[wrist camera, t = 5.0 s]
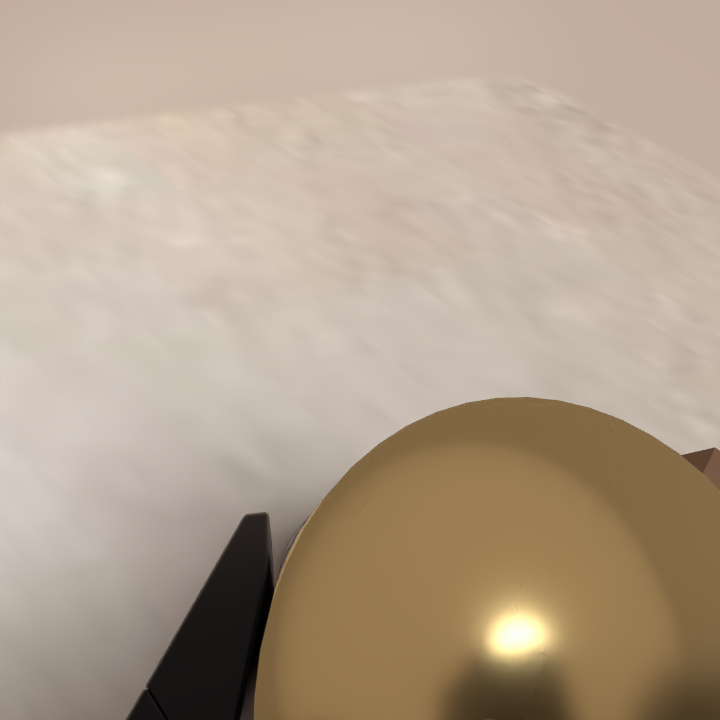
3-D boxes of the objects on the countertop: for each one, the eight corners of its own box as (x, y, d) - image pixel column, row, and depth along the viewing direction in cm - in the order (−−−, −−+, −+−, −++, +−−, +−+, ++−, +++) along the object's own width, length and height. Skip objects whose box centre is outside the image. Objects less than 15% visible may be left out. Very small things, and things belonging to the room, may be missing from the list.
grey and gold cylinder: (357, 682, 15) (708, 1361, 2) (251, 589, 15) (105, 778, 3) (434, 562, 16) (903, 620, 4) (335, 481, 16) (477, 304, 4)
